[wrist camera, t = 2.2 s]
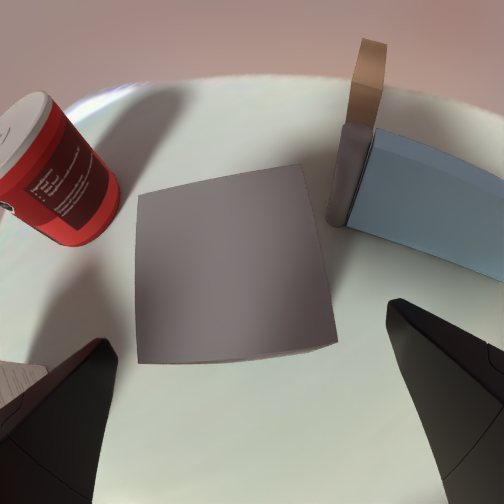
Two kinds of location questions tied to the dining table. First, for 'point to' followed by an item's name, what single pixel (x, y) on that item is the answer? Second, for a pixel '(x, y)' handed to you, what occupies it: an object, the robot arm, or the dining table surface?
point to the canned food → (53, 174)
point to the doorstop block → (230, 271)
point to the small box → (17, 379)
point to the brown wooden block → (367, 83)
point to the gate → (419, 198)
